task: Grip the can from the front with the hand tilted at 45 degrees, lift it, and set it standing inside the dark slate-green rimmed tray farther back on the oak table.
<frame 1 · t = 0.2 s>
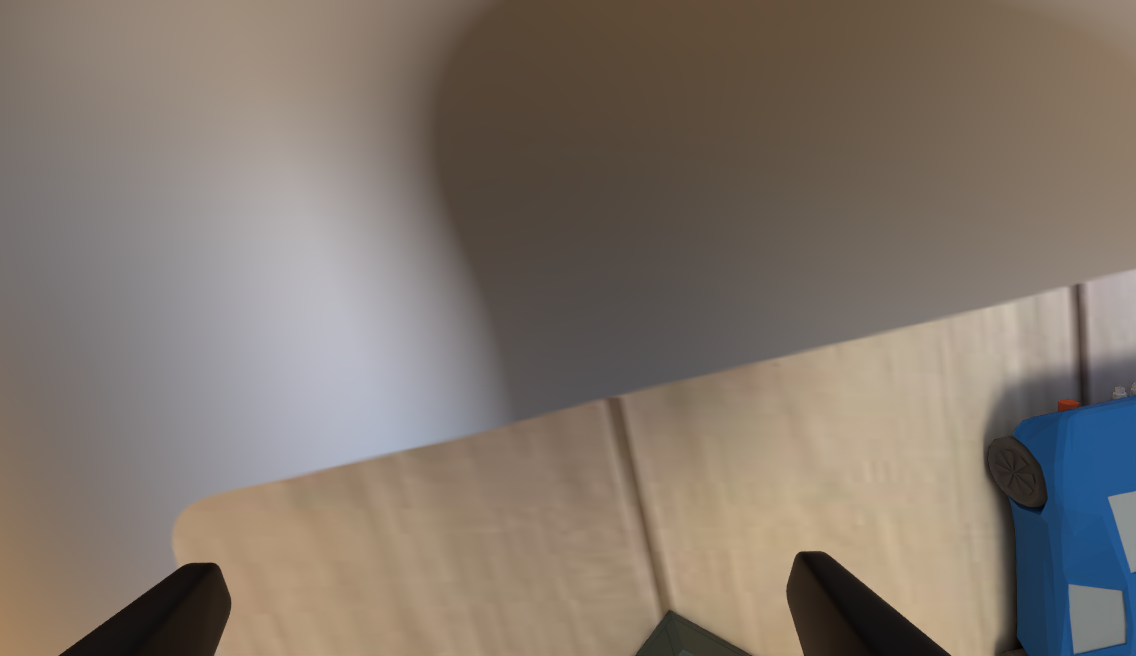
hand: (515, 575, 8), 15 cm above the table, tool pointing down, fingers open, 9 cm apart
toy car: (1073, 554, 27), on the table
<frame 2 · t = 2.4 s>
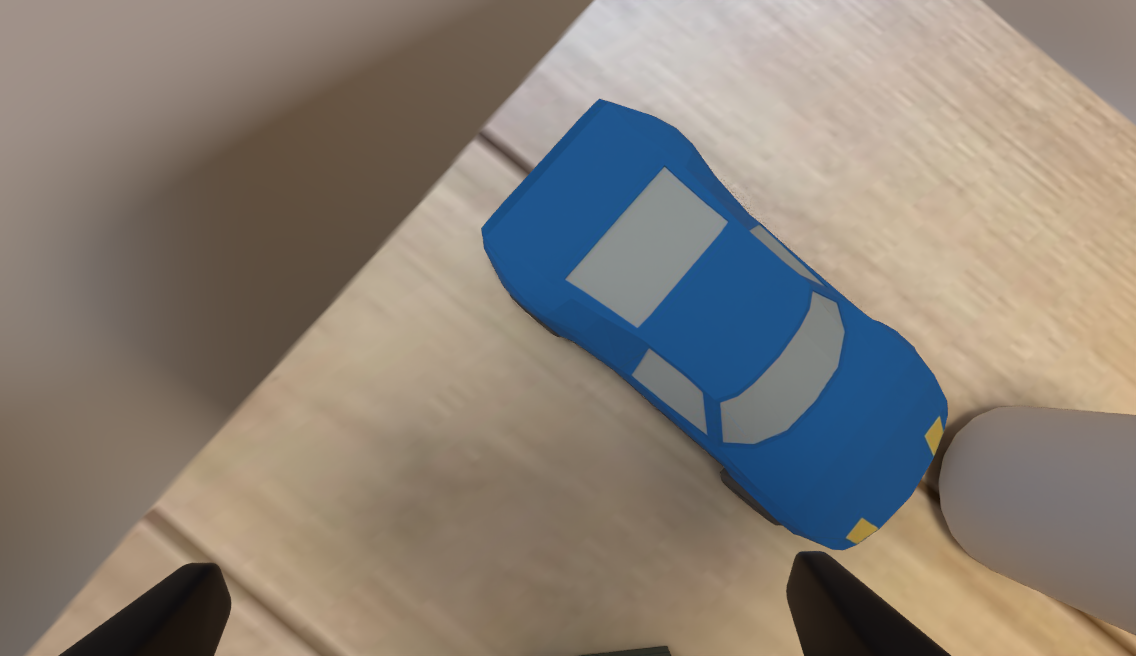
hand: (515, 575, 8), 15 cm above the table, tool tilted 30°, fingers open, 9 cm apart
toy car: (707, 338, 24), on the table
can: (998, 484, 25), on the table
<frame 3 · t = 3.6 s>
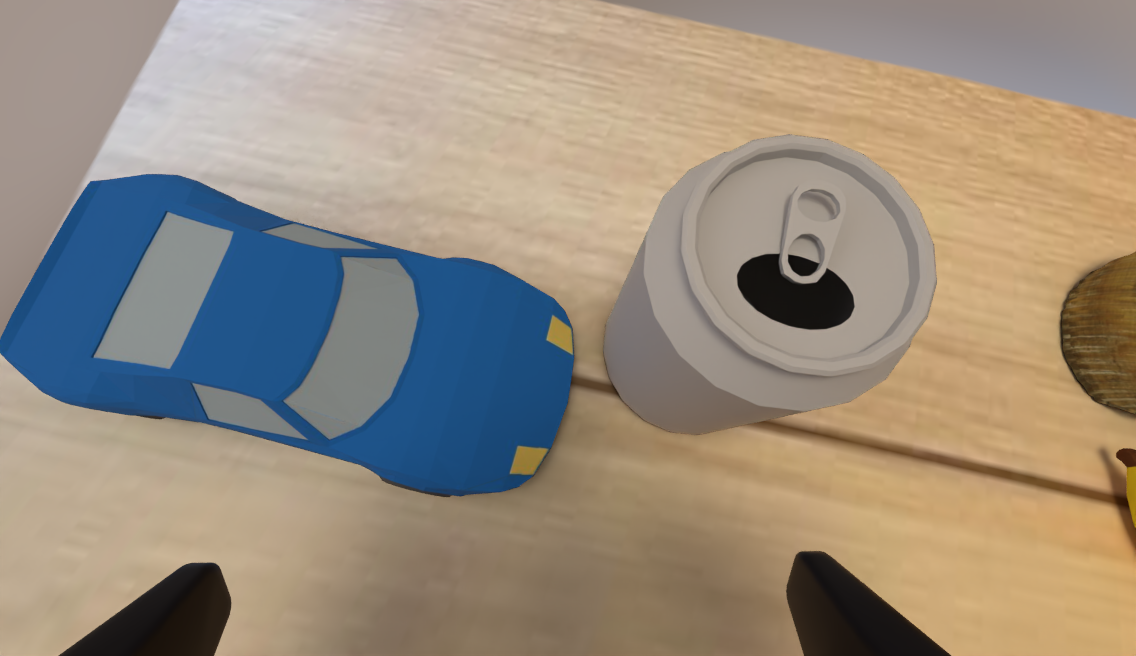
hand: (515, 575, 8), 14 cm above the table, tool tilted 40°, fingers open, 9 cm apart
toy car: (342, 351, 23), on the table
can: (681, 353, 24), on the table
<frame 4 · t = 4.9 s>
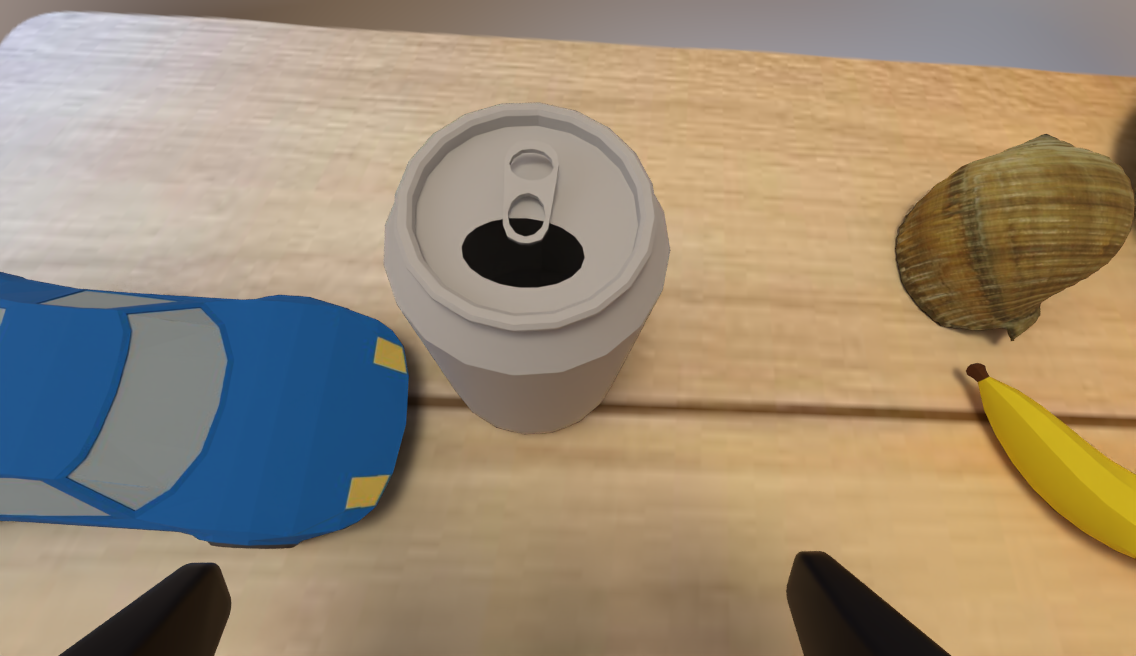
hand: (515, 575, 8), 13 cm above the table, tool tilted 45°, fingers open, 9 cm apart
toy car: (173, 417, 22), on the table
seashell: (971, 261, 26), on the table
can: (533, 354, 24), on the table
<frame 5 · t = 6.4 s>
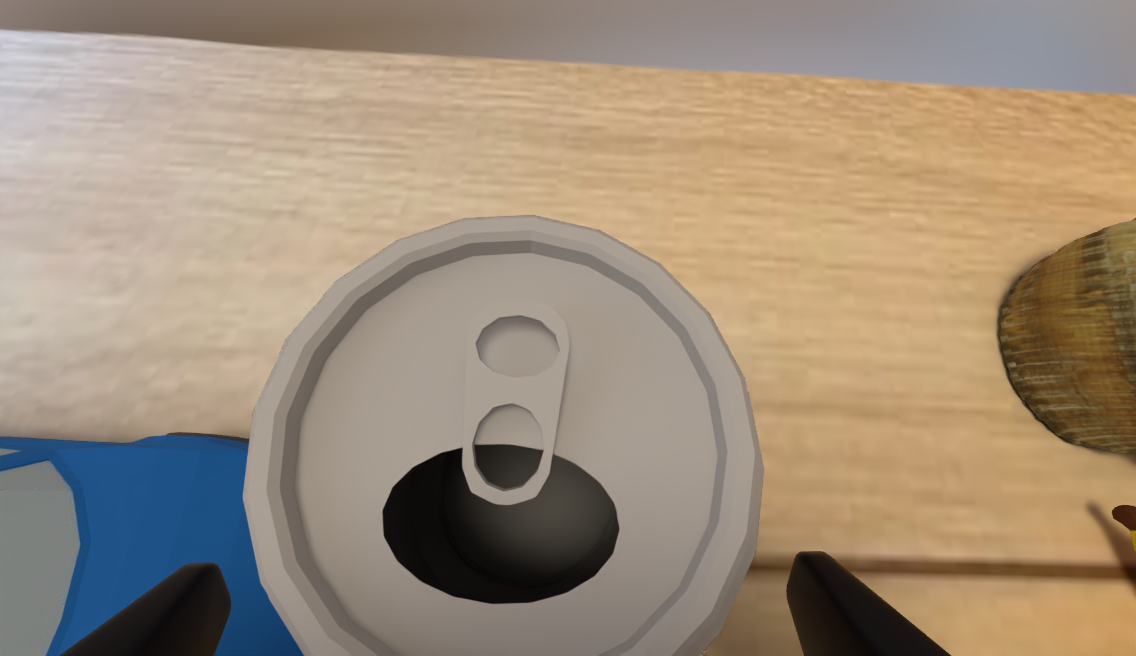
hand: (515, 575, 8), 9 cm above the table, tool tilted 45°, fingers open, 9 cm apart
toy car: (33, 590, 16), on the table
seashell: (1095, 350, 20), on the table
can: (529, 488, 18), on the table
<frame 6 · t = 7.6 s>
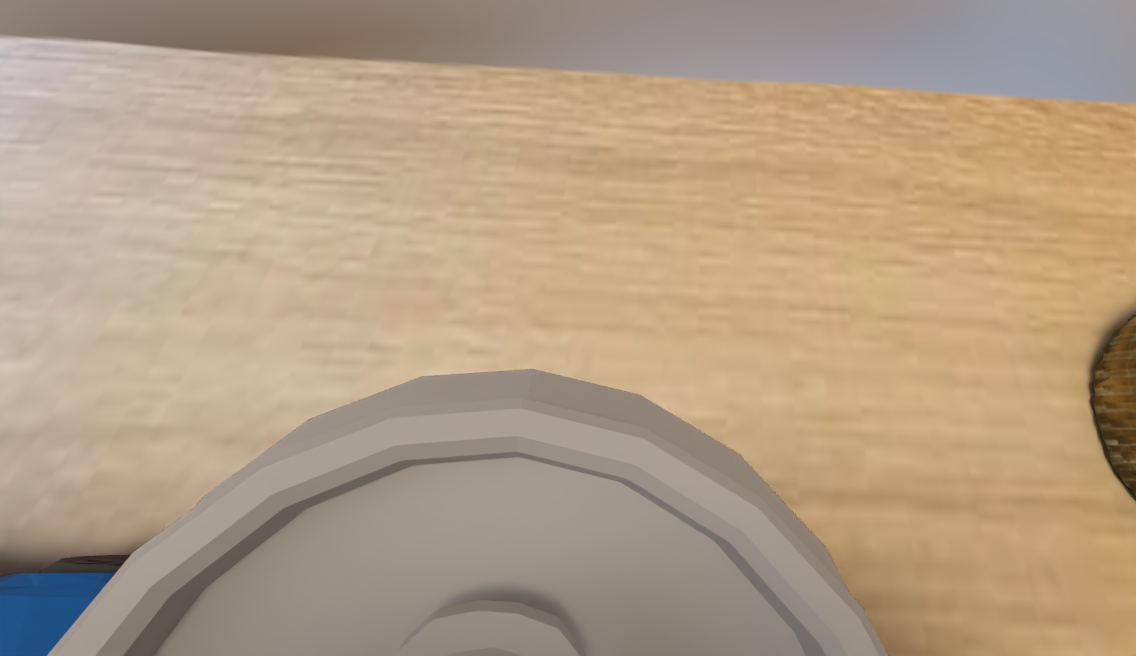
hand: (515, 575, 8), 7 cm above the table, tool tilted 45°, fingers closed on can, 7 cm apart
can: (525, 605, 14), on the table, touching gripper
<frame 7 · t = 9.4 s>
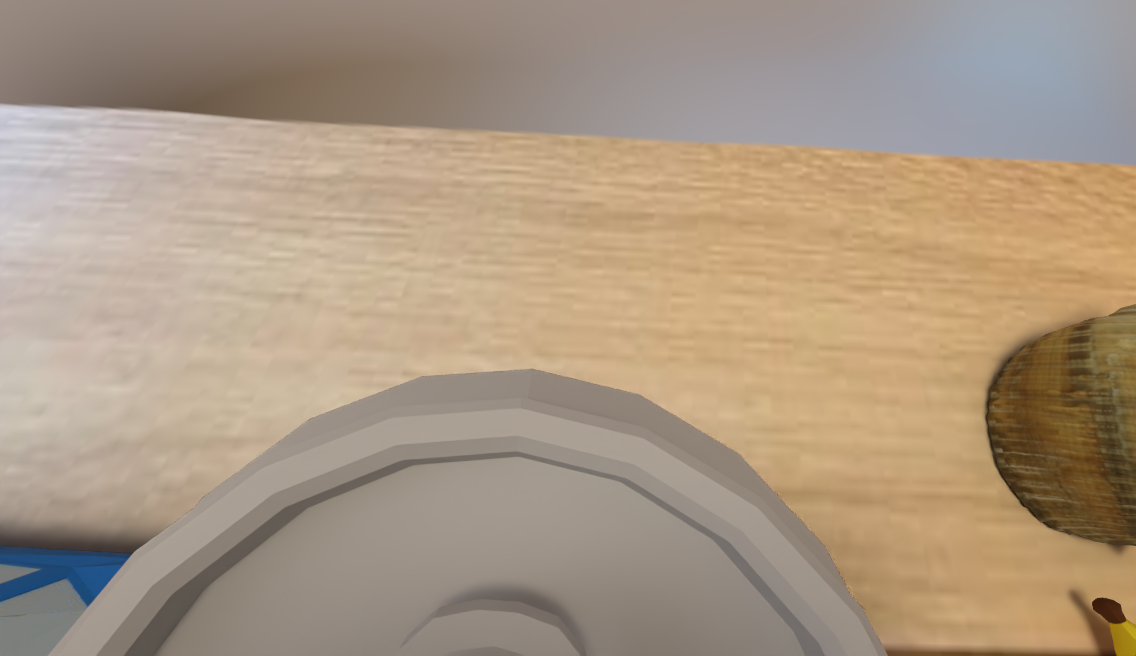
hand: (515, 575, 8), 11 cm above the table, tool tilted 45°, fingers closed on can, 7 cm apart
seashell: (1081, 432, 21), on the table
can: (525, 605, 14), point 4 cm above the table, touching gripper
when the fingers open (7 cm above the table, at t = 16.8 s): can stays where it is, resting on tray.
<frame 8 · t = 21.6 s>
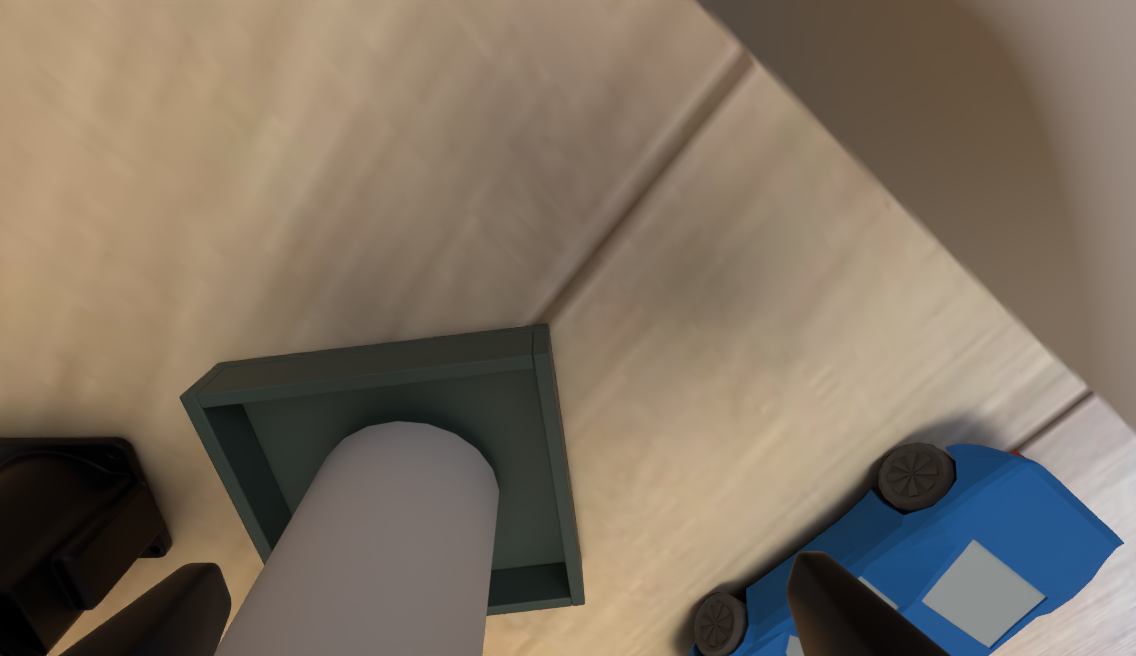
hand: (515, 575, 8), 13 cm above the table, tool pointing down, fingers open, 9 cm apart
toy car: (837, 570, 28), on the table
tray: (420, 473, 24), on the table
can: (416, 477, 23), resting on tray
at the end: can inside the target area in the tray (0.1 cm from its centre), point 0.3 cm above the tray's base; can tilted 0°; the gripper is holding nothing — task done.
